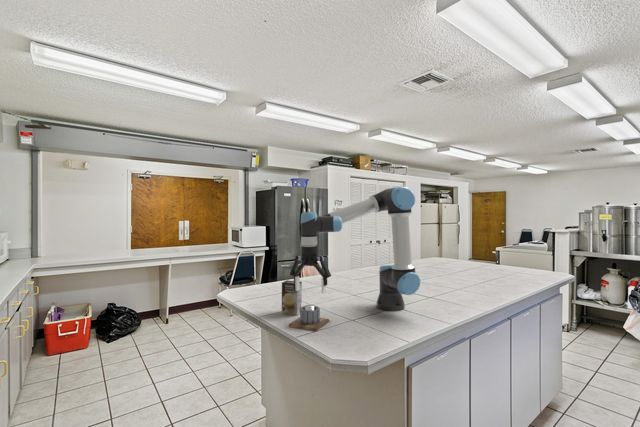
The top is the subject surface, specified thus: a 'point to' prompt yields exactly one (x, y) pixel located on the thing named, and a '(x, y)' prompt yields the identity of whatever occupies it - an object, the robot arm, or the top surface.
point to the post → (309, 307)
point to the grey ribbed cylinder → (310, 316)
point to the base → (309, 327)
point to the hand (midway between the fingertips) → (310, 291)
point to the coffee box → (291, 298)
